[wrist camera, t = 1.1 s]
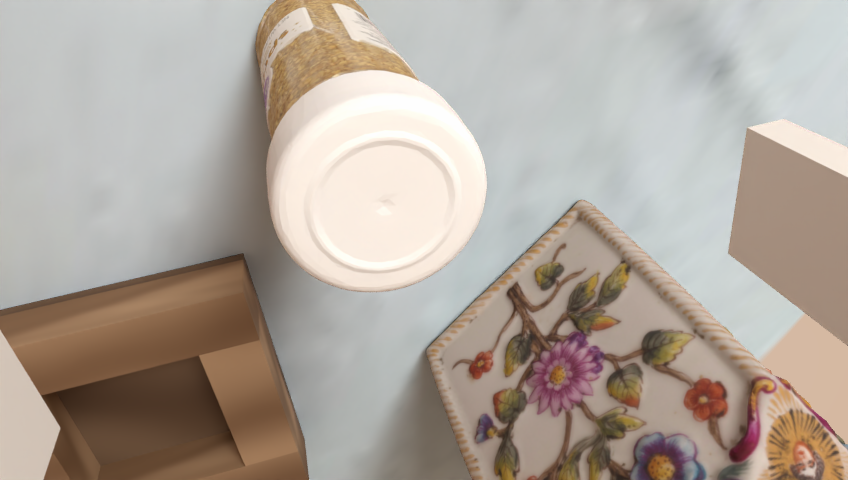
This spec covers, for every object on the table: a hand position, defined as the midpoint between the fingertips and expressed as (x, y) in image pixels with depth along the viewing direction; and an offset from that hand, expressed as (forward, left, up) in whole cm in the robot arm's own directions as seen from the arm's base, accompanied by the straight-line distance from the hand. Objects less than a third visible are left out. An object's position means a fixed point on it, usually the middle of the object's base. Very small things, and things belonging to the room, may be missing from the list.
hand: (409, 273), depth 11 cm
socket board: (+14, -11, -16) cm, 23 cm away
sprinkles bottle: (0, 0, -16) cm, 16 cm away
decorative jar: (+17, +10, -16) cm, 25 cm away
